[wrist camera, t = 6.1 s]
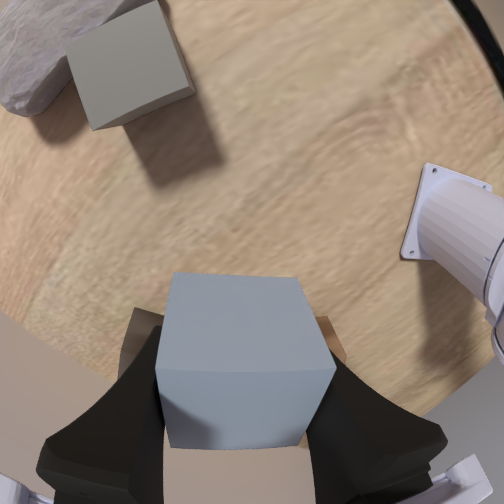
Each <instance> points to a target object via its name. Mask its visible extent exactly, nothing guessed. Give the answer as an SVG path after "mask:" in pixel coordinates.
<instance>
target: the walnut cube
mask: <svg viewBox="0 0 504 504" xmlns="http://www.w3.org/2000/svg"><path fill="white" fill-rule="evenodd" d="M315 319H316V321H317V323H318V326H319V328H320V330H321V332H322V335H323V337H324V339H325V342H326V344H327V346H328V348H329V349H330V350H331V351H332V352H333V353H334V354H335V355H336V356H337V357H338V358H339V360H340V361H341V362H342V363H343V364H344V365H345V361H346V357H347V355H346V353H345V351H344V349H343V347H342V345H341V343H340V341H339V339H338V337H337V335H336V333H335V331H334V329H333V327H332V325H331V323H330V321H329V319H328V317H327V316H322V317H315Z"/></svg>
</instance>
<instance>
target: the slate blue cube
mask: <svg viewBox="0 0 504 504" xmlns="http://www.w3.org/2000/svg"><path fill="white" fill-rule="evenodd" d="M336 368H337V367H336V365H335V362H334V360H333V358H332V356H331V353H330V351H329V349H328V346H327V344H326V342H325V339H324V337H323V335H322V332H321V330H320V328H319V326H318V323H317V321H316V319H315V317H314V314H313V312H312V310H311V308H310V305H309V303H308V301H307V299H306V297H305V294H304V292H303V290H302V288H301V285H300V283H299V281H298V279H297V278H284V277H260V276H238V275H218V274H200V273H183V272H174V274H173V278H172V283H171V287H170V292H169V297H168V301H167V306H166V311H165V316H164V321H163V327H162V332H161V337H160V343H159V348H158V354H157V360H156V366H155V370H156V376H157V382H158V388H159V394H160V400H161V405H162V410H163V415H164V420H165V425H166V430H167V434H168V439H169V443H170V447H171V448H182V449H204V450H237V449H238V450H239V449H240V450H241V449H263V448H277V447H288V446H297V445H298V444H299V442H300V440H301V438H302V436H303V435H304V433H305V431H306V429H307V427H308V425H309V423H310V422H311V420H312V418H313V416H314V414H315V412H316V410H317V408H318V406H319V404H320V402H321V400H322V398H323V396H324V394H325V392H326V390H327V388H328V386H329V383H330V381H331V379H332V377H333V375H334V373H335V371H336Z"/></svg>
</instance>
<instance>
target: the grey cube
mask: <svg viewBox="0 0 504 504" xmlns="http://www.w3.org/2000/svg"><path fill="white" fill-rule="evenodd" d="M64 48H65V52H66V55H67V59H68V62H69V65H70V68H71V72H72V75H73V78H74V81H75V84H76V87H77V90H78V93H79V96H80V99H81V102H82V105H83V107H84V110H85V113H86V116H87V118H88V121H89V124H90V126H91V129H92V131H95V130H100V129H105V128H110V127H116V126H122V125H124V124H126V123H128V122H130V121H132V120H134V119H137V118H139V117H141V116H143V115H145V114H147V113H150V112H152V111H154V110H156V109H159V108H161V107H163V106H166V105H168V104H170V103H173V102H175V101H178V100H180V99H183V98H185V97H188V96H191V95H193V94H196V91H195V88H194V85H193V82H192V80H191V77H190V74H189V72H188V69H187V66H186V64H185V61H184V58H183V55H182V53H181V50H180V47H179V45H178V42H177V39H176V37H175V34H174V31H173V29H172V26H171V24H170V22H169V20H168V19H167V17H166V15H165V13H164V11H163V9H162V8H161V6H160V4H159V2H158V0H155V1H152V2H150V3H148V4H145V5H143V6H140V7H138V8H136V9H134V10H131V11H129V12H127V13H125V14H123V15H121V16H119V17H117V18H115V19H113V20H111V21H109V22H107V23H105V24H103V25H101V26H99V27H98V28H96V29H94V30H92V31H91V32H89V33H87V34H85V35H84V36H82V37H80V38H79V39H77V40H75V41H74V42H72V43H71V44H69V45H67V46H66V47H64Z"/></svg>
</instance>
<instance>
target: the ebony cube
mask: <svg viewBox="0 0 504 504" xmlns="http://www.w3.org/2000/svg"><path fill="white" fill-rule="evenodd" d="M163 321H164V316H163V315H160V314H156V313H153V312H149V311H146V310H142V309H139V308H136V307H134V310H133V313H132V316H131V320H130V323H129V326H128V329H127V332H126V335H125V338H124V342H123V345H122V348H121V353H120V361H119V370H118V379H119V378H120V377H121V375H122V374H123V373H124V372H125V370H126V369H127V368H128V366H129V365H130V364H131V362H132V361H133V360H134V358H135V357H136V355H137V354H138V352H139V351H140V349H141V348H142V346H143V345H144V343H145V342H146V340H147V338H148V336H149V335H150V333H151V331H152V329H153V327H154V326H156V325H159V326H163Z"/></svg>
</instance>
